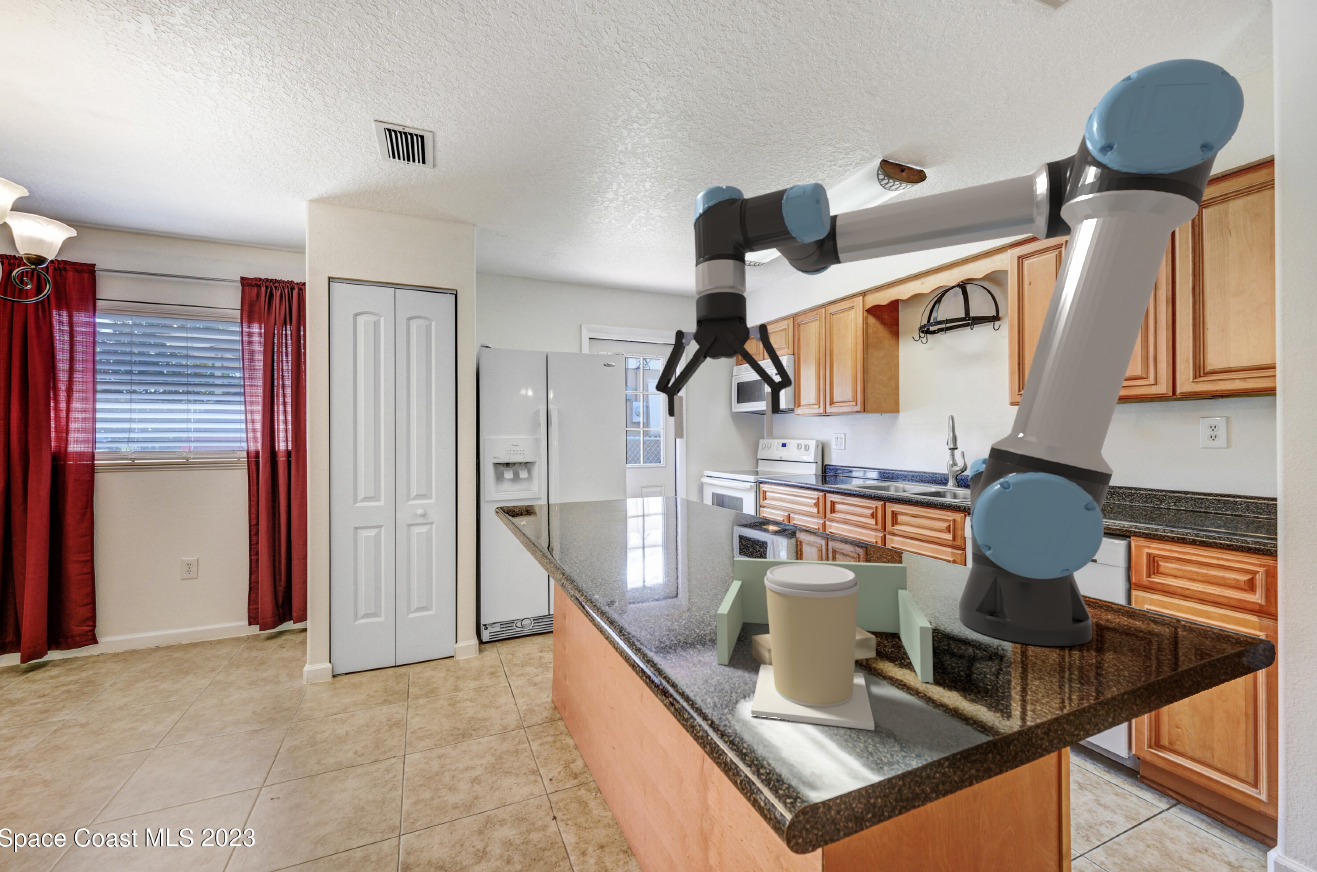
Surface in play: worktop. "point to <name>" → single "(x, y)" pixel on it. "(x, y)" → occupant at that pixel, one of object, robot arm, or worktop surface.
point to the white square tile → (844, 715)
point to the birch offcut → (863, 646)
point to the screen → (877, 606)
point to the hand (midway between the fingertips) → (723, 438)
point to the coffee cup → (812, 632)
